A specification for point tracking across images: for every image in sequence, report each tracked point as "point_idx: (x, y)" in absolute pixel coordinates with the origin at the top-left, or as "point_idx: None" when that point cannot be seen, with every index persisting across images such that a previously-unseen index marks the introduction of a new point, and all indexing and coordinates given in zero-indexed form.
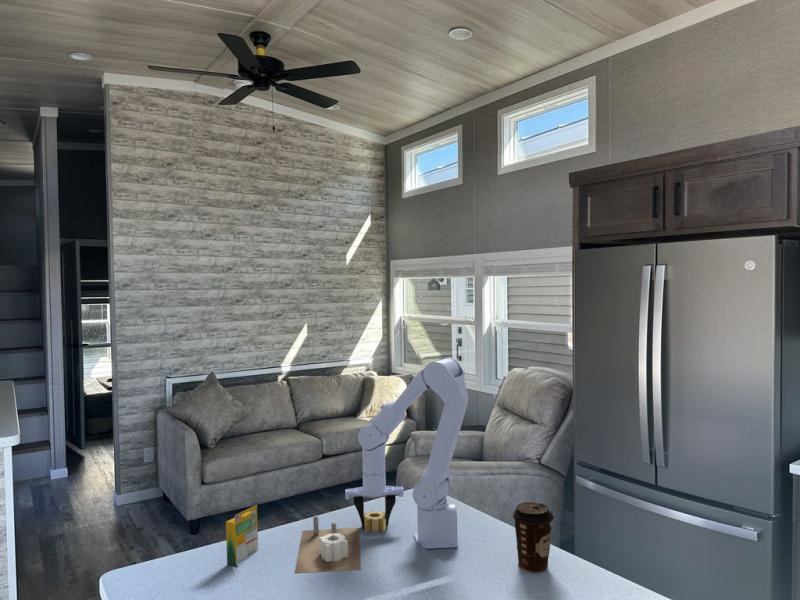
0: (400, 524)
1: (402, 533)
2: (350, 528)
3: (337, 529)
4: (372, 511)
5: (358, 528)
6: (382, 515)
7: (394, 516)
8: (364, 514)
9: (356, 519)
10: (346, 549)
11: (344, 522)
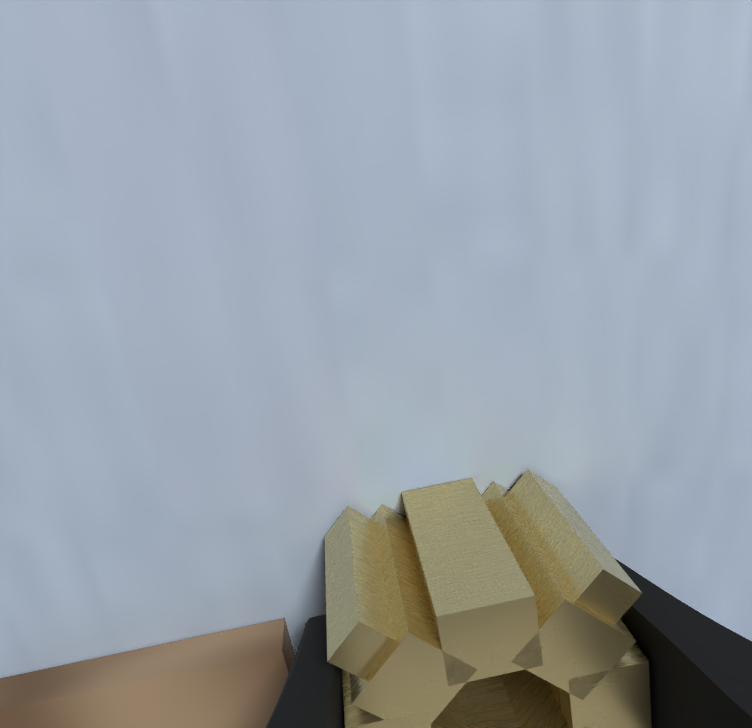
0: (725, 390)
1: (724, 597)
2: (185, 674)
3: (38, 715)
4: (457, 614)
5: (279, 665)
6: (613, 721)
7: (671, 140)
8: (335, 653)
9: (165, 277)
10: None
11: (29, 387)
